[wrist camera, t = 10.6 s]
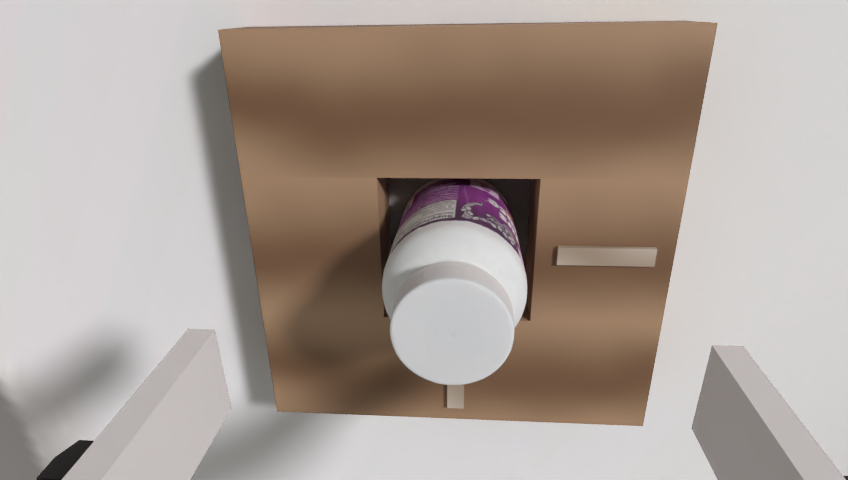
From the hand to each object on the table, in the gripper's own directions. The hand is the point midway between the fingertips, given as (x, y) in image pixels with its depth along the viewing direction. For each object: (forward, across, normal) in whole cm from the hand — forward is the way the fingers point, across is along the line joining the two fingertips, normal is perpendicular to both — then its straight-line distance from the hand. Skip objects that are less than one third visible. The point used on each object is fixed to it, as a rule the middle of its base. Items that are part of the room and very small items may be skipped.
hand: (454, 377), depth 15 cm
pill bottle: (+12, 0, -1) cm, 12 cm away
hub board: (+12, 0, -1) cm, 12 cm away
